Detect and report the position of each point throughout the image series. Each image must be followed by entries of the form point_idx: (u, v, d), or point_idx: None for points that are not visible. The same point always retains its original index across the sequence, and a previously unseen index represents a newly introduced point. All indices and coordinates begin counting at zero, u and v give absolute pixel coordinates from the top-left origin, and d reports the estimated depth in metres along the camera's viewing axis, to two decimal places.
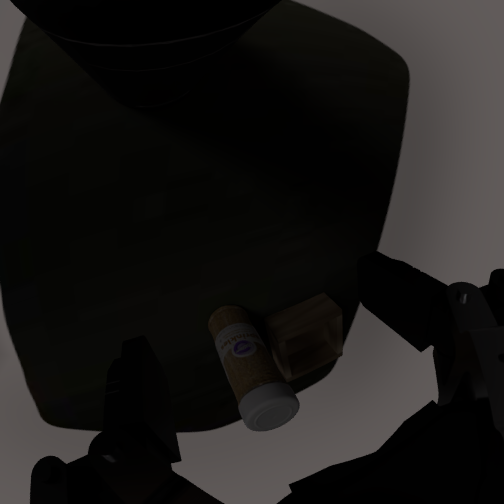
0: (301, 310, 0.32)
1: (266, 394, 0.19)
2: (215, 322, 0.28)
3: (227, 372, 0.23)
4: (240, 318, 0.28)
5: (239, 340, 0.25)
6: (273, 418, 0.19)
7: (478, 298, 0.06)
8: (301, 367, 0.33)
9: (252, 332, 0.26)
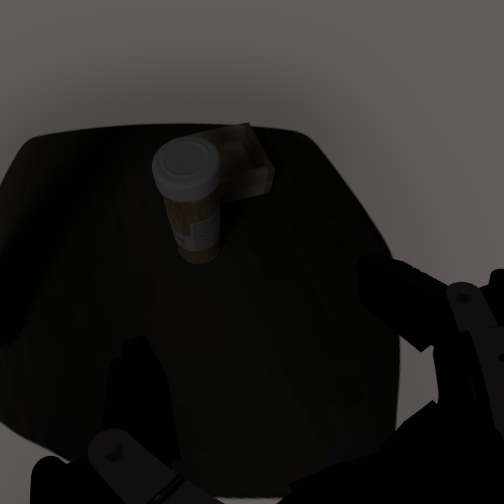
0: None
1: None
2: (186, 254, 0.27)
3: (188, 228, 0.22)
4: None
5: None
6: (188, 158, 0.17)
7: (478, 298, 0.06)
8: (259, 159, 0.31)
9: None
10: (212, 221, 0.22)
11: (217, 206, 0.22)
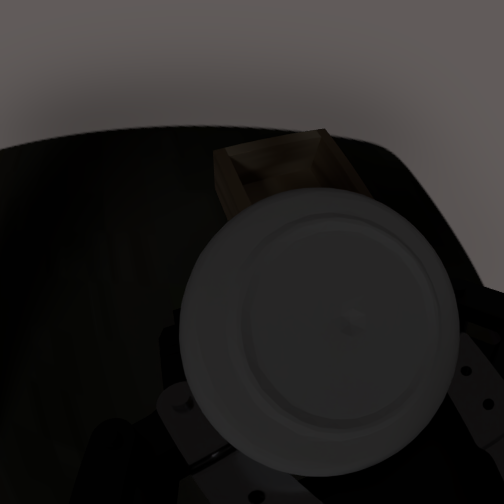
0: None
1: None
2: None
3: None
4: None
5: None
6: (365, 320, 0.04)
7: None
8: None
9: None
10: None
11: None
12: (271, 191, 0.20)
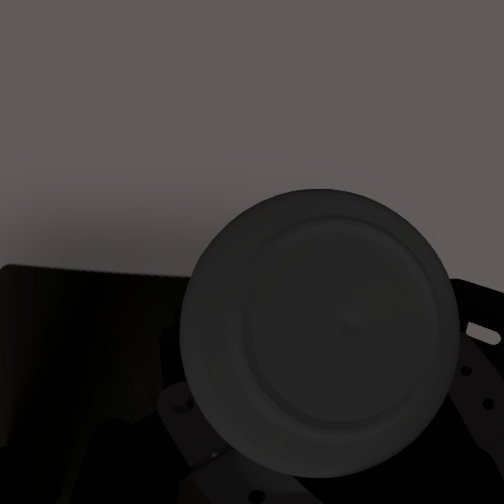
0: None
1: None
2: None
3: None
4: None
5: None
6: (365, 321, 0.04)
7: None
8: None
9: None
10: None
11: None
12: None
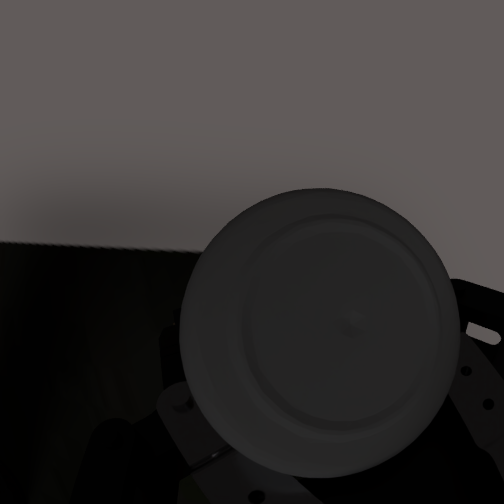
0: None
1: None
2: None
3: None
4: None
5: None
6: (366, 321, 0.04)
7: None
8: None
9: None
10: None
11: None
12: None
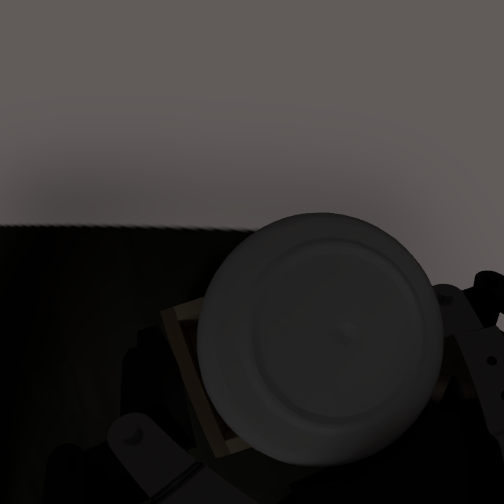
0: None
1: None
2: None
3: None
4: None
5: None
6: (357, 331, 0.04)
7: (460, 301, 0.06)
8: None
9: None
10: None
11: None
12: None
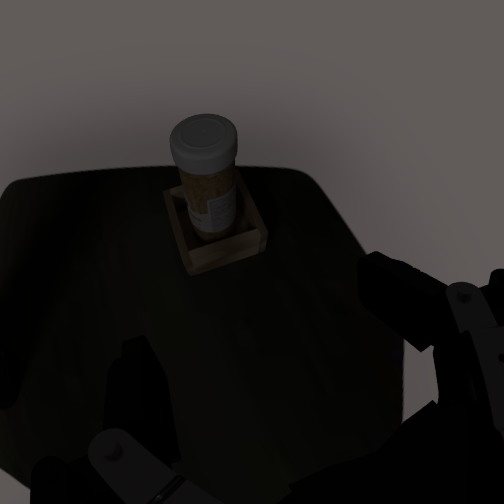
0: None
1: (171, 149, 0.18)
2: (201, 237, 0.27)
3: (205, 204, 0.22)
4: None
5: (186, 203, 0.24)
6: (205, 132, 0.17)
7: (478, 298, 0.06)
8: (250, 217, 0.27)
9: None
10: (229, 198, 0.22)
11: (233, 183, 0.22)
12: None
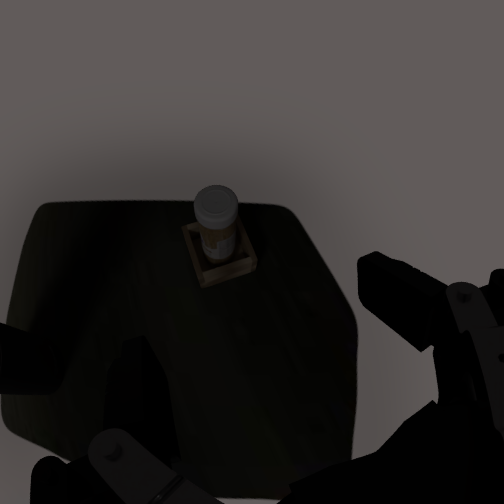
0: None
1: None
2: (210, 261, 0.39)
3: (216, 244, 0.33)
4: None
5: (201, 239, 0.35)
6: (217, 201, 0.29)
7: (478, 298, 0.06)
8: (245, 248, 0.39)
9: None
10: (231, 239, 0.34)
11: (234, 229, 0.33)
12: None
